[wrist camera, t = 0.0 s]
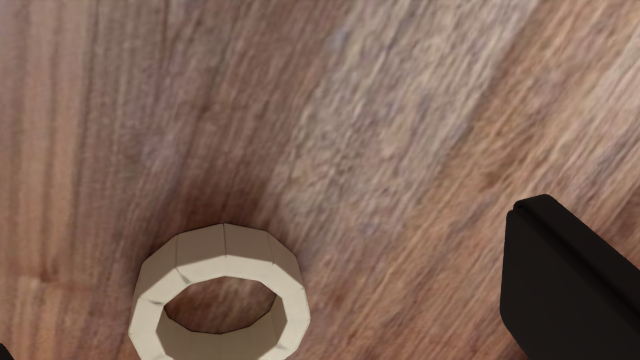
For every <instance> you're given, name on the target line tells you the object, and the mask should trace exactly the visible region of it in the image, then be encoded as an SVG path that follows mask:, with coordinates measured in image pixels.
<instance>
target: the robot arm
mask: <svg viewBox="0 0 640 360" xmlns="http://www.w3.org/2000/svg"><path fill="white" fill-rule="evenodd" d="M500 314H501V318H502V320H503V323H504V324H505V326H506V328H507V329H508V330H509V332H510V333H511V335H512V336H513V337H514V339H515V340H516V341H517V343H518V344H519V346H520V347H521V348H522V350H523V351H524V352H525V354H526V355H527V357H528V358H529V359H530V360H640V270H639V269H638V268H637V267H635V266H634V265H633V264H632V263H631V262H629V261H628V260H627V259H626V258H625V257H623V256H622V255H621V254H620V253H619V252H617V251H616V250H615V249H614V248H613V247H612V246H610V245H609V244H608V243H607V242H606V241H604V240H603V239H602V238H601V237H600V236H598V235H597V234H596V233H595V232H594V231H592V230H591V229H590V228H589V227H588V226H586V225H585V224H584V223H583V222H582V221H580V220H579V219H578V218H577V217H576V216H574V215H573V214H572V213H571V212H570V211H568V210H567V209H566V208H565V207H564V206H563V205H561V204H560V203H559V202H558V201H557V200H555V199H554V198H553V197H551V196H550V195H548V194H542V195H538V196H534V197H530V198H527V199H523V200H519V201H517V202H516V203H515V204H514V207H513V210H510V211H509V212H508V213H507V217H506V230H505V243H504V256H503V269H502V283H501V296H500ZM0 360H14V359H13V357H12V356H11V354H10V353H9V351H8V350H7V349H6V347H5V346H4V345H3V344H1V343H0Z"/></svg>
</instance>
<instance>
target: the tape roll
mask: <svg viewBox="0 0 640 360" xmlns="http://www.w3.org/2000/svg"><path fill="white" fill-rule="evenodd" d="M221 276H231V277H237V278H244V279H250V280H257V281H260V282H262V283H263V284H264V285H265V286H267V287H268V288H269V289H271V290H272V291H273V292H275V293H276V294H277V296H276V299H275V301H274V303H273V305H272V308H271V310H270V311H269V312H268V313H267V314H265V315H264V316H263V317H262V318H260V319H259V320H258V321H256V322H255V323H254V324H252V325H251V326H250V327H247V328H243V329H240V330H236V331H232V332H229V333H225V334H221V335H217V334H208V333H199V332H190V331H189V330H187V329H186V328H184V327H182V326H181V325H179V324H178V323H176V322H174V321H173V320H171V319H170V318H168V317H167V314H166V312H165V310H164V305H165V304H166V303H168V302H169V301H170V300H171V299H172V298H174V297H175V296H176V295H177V294H179V293H180V292H181V291H182V290H184V289H185V288H186V287H187V286H189V285H190V284H194V283H198V282H202V281H206V280H209V279H213V278H217V277H221ZM310 321H311V315H310V310H309V306H308V301H307V296H306V291H305V287H304V283H303V280H302V276H301V273H300V270H299V266H298V263H297V259H296V257H295V255H294V254H293V253H292V252H290V251H289V250H288V249H287V248H286V247H285V246H283V245H282V244H281V243H280V242H279V241H278V240H276V239H275V238H274V237H273V236H272V235H271V234H269V233H268V232H266V231H262V230H257V229H252V228H247V227H241V226H236V225H231V224H226V223H224V224H218V225H213V226H209V227H205V228H201V229H197V230H193V231H189V232H185V233H180V234H178V236H177V235H175V236H174V237H173V238H172V239H170V240H169V241H168V242H167V243H166V244H165V245H163V246H162V247H161V248H160V249H159V250H157V251H156V252H155V253H154V254H153V255H151V256H150V257H149V258H148V259H147V260H145V261H144V263H143V264H142V267H141V270H140V274H139V277H138V281H137V284H136V288H135V291H134V295H133V300H132V307H131V314H130V321H129V328H128V335H129V337H130V339H131V341H132V343H133V345H134V347H135V349H136V351H137V353H138V355H139V357H140V359H141V360H284V359H285V358H287V357H288V356H289V355H291V354H292V353H294V351H296V350H297V348H298V346H299V344H300V342H301V340H302V338H303V335H304V333H305V331H306V329H307V327H308V325H309V323H310Z"/></svg>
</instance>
